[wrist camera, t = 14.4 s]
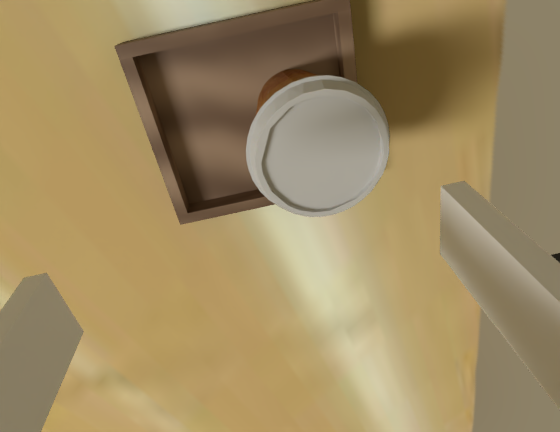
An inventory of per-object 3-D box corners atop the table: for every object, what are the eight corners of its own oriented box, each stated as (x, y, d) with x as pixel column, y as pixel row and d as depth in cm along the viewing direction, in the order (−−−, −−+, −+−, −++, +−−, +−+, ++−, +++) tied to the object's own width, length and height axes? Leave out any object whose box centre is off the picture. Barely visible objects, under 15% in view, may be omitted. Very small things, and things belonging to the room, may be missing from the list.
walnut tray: (122, 42, 32) (114, 46, 30) (341, -6, 32) (349, -6, 30) (183, 212, 40) (180, 224, 38) (359, 173, 40) (366, 184, 38)
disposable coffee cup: (293, 21, 32) (329, 42, 22) (366, 103, 36) (425, 152, 26) (215, 109, 35) (214, 164, 25) (291, 175, 39) (318, 246, 29)
